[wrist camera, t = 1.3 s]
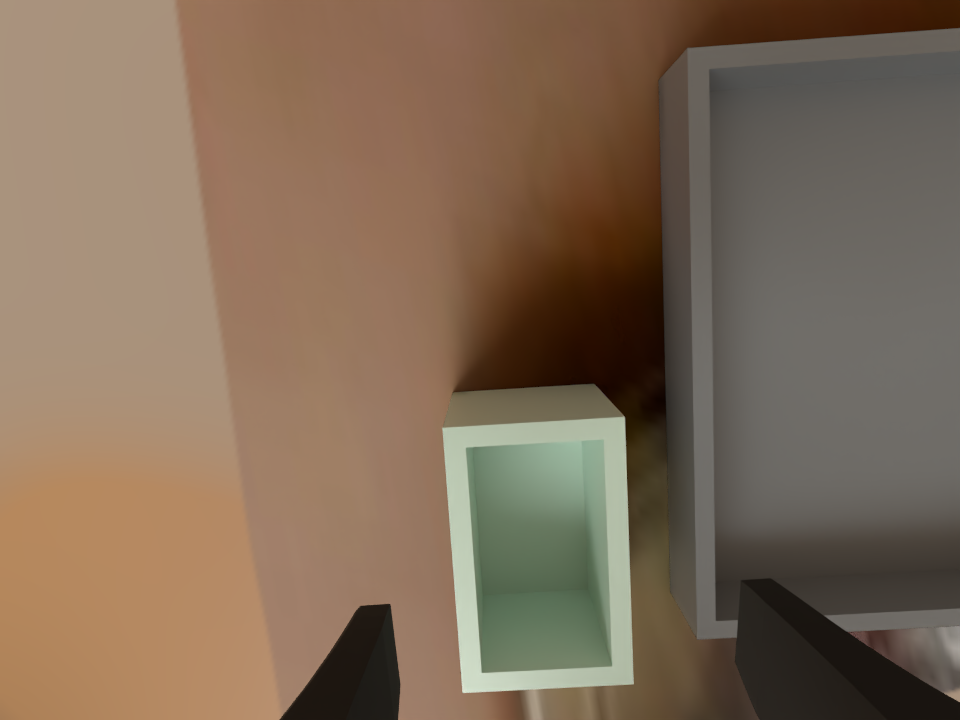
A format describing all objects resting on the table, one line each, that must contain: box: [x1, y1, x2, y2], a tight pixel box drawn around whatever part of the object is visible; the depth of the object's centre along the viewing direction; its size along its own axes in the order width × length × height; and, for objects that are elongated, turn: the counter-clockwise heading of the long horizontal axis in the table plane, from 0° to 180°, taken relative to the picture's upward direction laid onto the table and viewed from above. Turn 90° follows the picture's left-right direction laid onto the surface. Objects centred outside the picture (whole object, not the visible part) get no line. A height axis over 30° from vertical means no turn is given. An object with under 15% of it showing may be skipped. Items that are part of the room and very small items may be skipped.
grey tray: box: [659, 28, 960, 640], centre depth 20 cm, size 18×14×3 cm
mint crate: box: [443, 384, 634, 693], centre depth 20 cm, size 8×5×5 cm, turn 4°
